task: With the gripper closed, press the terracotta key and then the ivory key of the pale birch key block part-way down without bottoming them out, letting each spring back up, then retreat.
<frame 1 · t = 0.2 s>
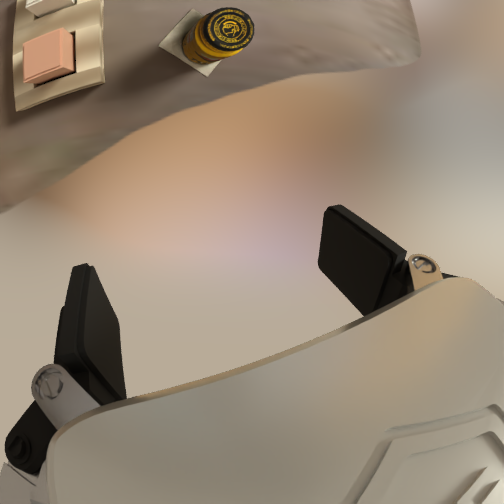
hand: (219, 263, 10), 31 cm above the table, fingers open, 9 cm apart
terracotta key: (49, 57, 17), point 6 cm above the table, slide at 0.0 cm
condiment: (198, 42, 28), on the table
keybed: (61, 30, 19), on the table
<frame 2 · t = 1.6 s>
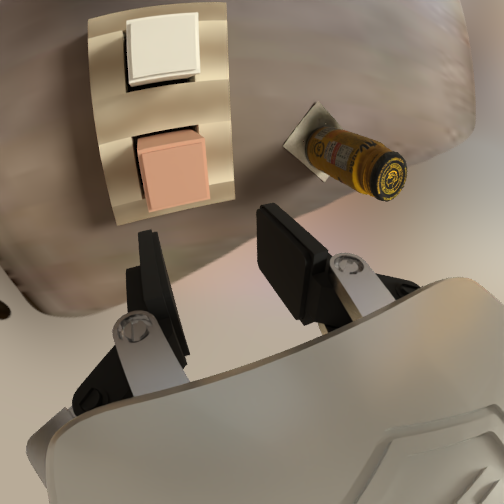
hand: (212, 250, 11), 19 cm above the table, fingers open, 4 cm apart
terracotta key: (170, 166, 22), point 6 cm above the table, slide at 0.0 cm
condiment: (319, 142, 32), on the table
ivory key: (160, 51, 16), point 6 cm above the table, slide at 0.0 cm
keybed: (159, 106, 23), on the table
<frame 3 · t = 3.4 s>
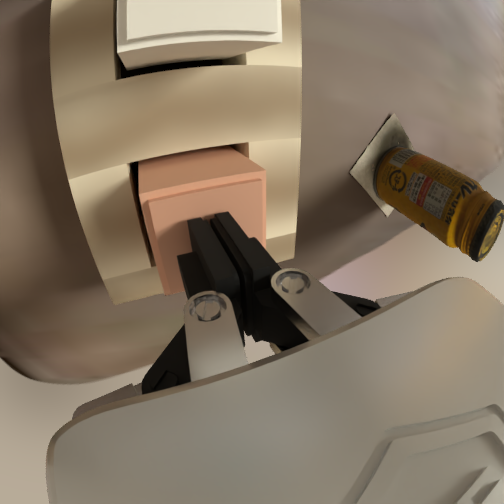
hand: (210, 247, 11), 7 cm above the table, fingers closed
terracotta key: (196, 209, 14), point 4 cm above the table, slide at 1.4 cm, touching gripper
condiment: (389, 166, 23), on the table
ivory key: (186, 0, 7), point 6 cm above the table, slide at 0.0 cm
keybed: (174, 106, 14), on the table
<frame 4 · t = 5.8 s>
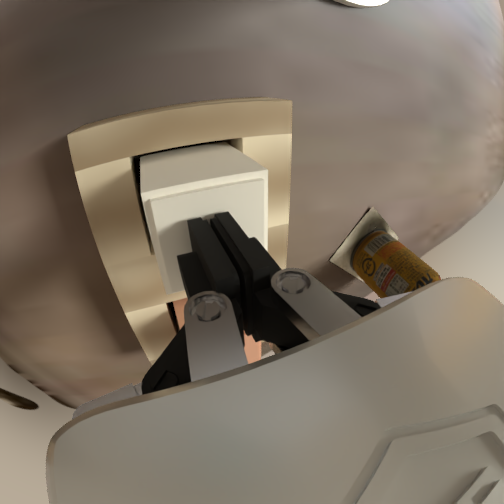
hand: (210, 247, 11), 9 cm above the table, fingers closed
terracotta key: (215, 326, 20), point 5 cm above the table, slide at 1.0 cm
condiment: (365, 246, 30), on the table
ivory key: (198, 208, 14), point 5 cm above the table, slide at 0.2 cm, touching gripper
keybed: (191, 238, 21), on the table
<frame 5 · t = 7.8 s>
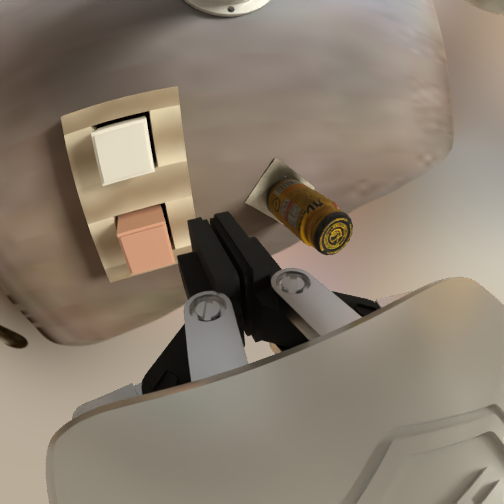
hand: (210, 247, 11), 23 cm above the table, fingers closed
terracotta key: (145, 236, 28), point 5 cm above the table, slide at 1.0 cm
condiment: (280, 193, 38), on the table
ivory key: (124, 147, 23), point 5 cm above the table, slide at 1.0 cm
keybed: (134, 181, 29), on the table
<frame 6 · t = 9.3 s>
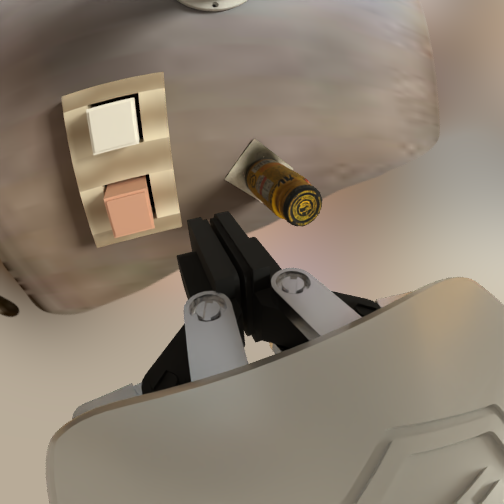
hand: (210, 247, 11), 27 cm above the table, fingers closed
terracotta key: (129, 204, 30), point 5 cm above the table, slide at 1.0 cm
condiment: (259, 172, 40), on the table
ivory key: (114, 123, 25), point 5 cm above the table, slide at 1.0 cm
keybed: (123, 156, 31), on the table
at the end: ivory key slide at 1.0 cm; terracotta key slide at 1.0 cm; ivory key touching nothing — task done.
